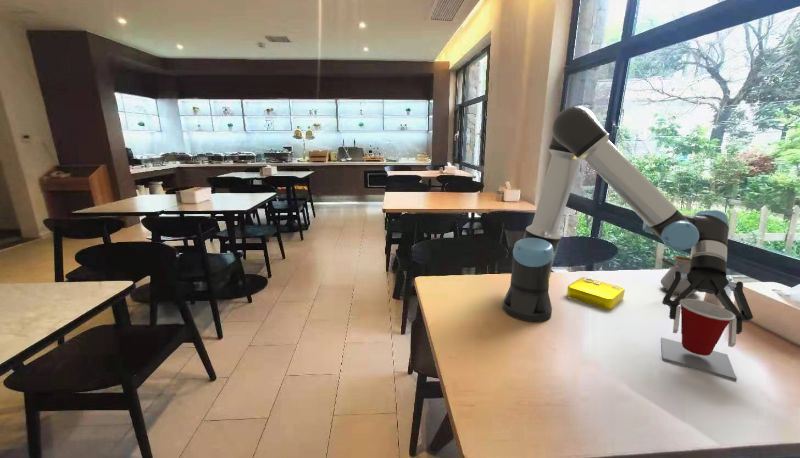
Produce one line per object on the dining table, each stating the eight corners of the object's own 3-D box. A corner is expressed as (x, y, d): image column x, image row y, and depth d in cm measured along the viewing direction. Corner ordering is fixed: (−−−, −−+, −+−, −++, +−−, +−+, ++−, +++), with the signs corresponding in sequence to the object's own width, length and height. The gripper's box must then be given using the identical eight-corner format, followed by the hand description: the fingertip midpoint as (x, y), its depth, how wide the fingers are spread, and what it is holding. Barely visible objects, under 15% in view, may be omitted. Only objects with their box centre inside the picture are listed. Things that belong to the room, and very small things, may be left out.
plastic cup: (736, 364, 84) (748, 319, 81) (685, 359, 86) (695, 314, 83) (707, 340, 94) (717, 299, 91) (662, 336, 96) (670, 295, 93)
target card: (662, 359, 89) (662, 357, 89) (660, 339, 99) (661, 337, 99) (736, 380, 82) (736, 378, 82) (726, 356, 91) (727, 354, 91)
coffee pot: (669, 283, 140) (677, 247, 137) (703, 294, 130) (713, 256, 126) (637, 292, 131) (644, 254, 127) (671, 305, 121) (680, 264, 117)
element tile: (564, 297, 127) (566, 284, 126) (581, 286, 137) (582, 275, 135) (610, 311, 116) (612, 298, 115) (624, 299, 126) (626, 287, 125)
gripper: (760, 276, 92) (760, 358, 83) (655, 259, 104) (645, 329, 95) (771, 262, 86) (773, 348, 77) (659, 246, 99) (649, 319, 90)
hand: (702, 338), depth 86 cm, fingers closed on plastic cup, 10 cm apart
